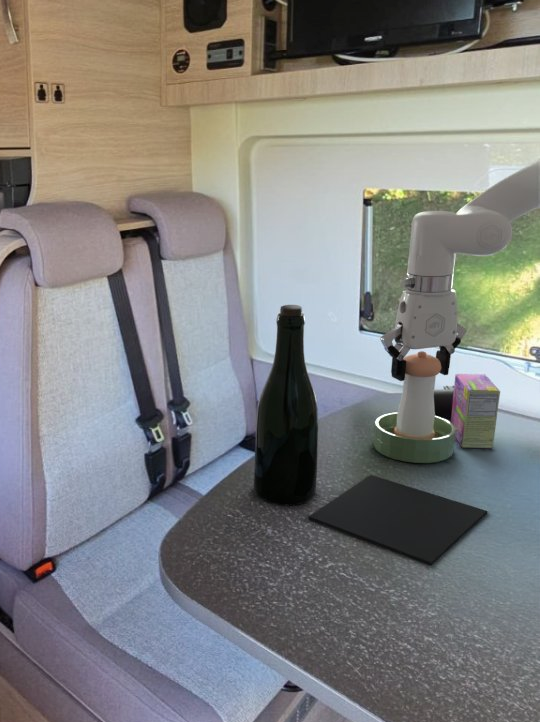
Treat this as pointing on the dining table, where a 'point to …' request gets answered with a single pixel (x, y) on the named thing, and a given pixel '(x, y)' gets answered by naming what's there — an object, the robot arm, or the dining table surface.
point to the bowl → (414, 441)
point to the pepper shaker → (418, 397)
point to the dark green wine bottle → (287, 420)
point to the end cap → (444, 402)
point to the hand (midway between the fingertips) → (419, 375)
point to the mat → (400, 518)
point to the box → (475, 410)
